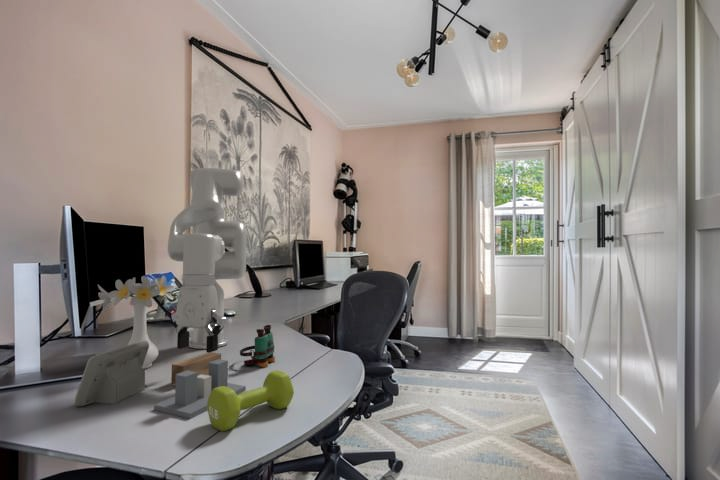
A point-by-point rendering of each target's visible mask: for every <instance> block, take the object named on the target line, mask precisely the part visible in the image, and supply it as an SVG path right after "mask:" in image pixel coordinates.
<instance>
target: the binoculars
mask: <svg viewBox="0 0 720 480" xmlns="http://www.w3.org/2000/svg"><path fill="white" fill-rule="evenodd" d="M271 329H272V325H271V324H266V325H264V326H263V328H261V329H260V328H257V329H256V334H257V336H256V337H254V345H251V346H245V347H243V348H242V349H240V350H239V355H240V356H241V357H250V358H251V359H246V360H244V361H243V363H244V366H250V365H257V366H258V367H260V368H266V367H268V366H269V363H274V362H275V361H276V359H275V357H276V356H274V353H275V344H274V342H275V341H274V335H273V334H274V333H273V332H272V331H271ZM249 351H250V352H249Z"/></svg>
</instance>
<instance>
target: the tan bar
mask: <svg viewBox="0 0 720 480" xmlns="http://www.w3.org/2000/svg"><path fill="white" fill-rule="evenodd" d="M217 359H221V360H222V354H221V353H219V352H214V351H213V352H210V353H208V352H205V353H202V354H200V355H196V356H193V357H190V358H187V359H184V360H180V361H177V362H174V363H171V378H170V379H171V380H170V381H171V385H173V384H175V381H176V374H179V373H182V372H184V371H187V370H188V371H193V372H197V376H198V375H201V374H203V375H209V362H212V361H215V360H217Z"/></svg>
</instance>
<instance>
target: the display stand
mask: <svg viewBox="0 0 720 480" xmlns="http://www.w3.org/2000/svg"><path fill="white" fill-rule="evenodd" d="M228 364H229V361H228V360H226V359H222V358H221V359H217V360H215V361H212V362H209V375H203V374H201V375H198V376H197V372H193V371H188V370H187V371H184V372H182V373H179V374H176V381H175V385H174V387H175V390H174V392H175V393H174V396H172V397H169V398H167V399H165V400H163V401H160V402H157V403H155V404H153V410H154V411H157V412H163V413H166V414H170V415H174V416H178V417H180V418H181V417H182V418H186V419H190V420H192V419H193V418H195V417H196V416H199V415H201V414H202V413H205V412H206V411H207V412H208V410H207V402H208V399H209V396H210V393H211V391H212V390H213V389H214V388H217V387H220V386H226V387H229V388H231V389H232V390H234V391H235V393H236V395H237V394H238V395H239V393H240V394H241V392H242V393H244V392H246V391H245V390H246V389H247V388H246V385H241V384H237V383H231V382H228V380H229V379H228V374H229V373H228V370H229V368H228V367H229V365H228ZM243 391H244V392H243Z"/></svg>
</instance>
